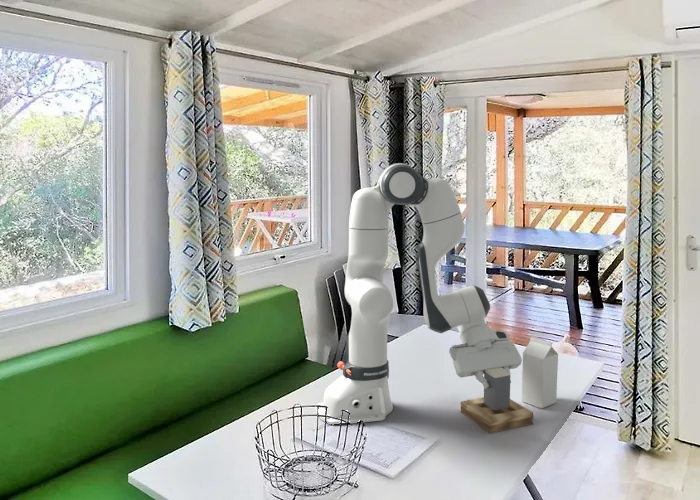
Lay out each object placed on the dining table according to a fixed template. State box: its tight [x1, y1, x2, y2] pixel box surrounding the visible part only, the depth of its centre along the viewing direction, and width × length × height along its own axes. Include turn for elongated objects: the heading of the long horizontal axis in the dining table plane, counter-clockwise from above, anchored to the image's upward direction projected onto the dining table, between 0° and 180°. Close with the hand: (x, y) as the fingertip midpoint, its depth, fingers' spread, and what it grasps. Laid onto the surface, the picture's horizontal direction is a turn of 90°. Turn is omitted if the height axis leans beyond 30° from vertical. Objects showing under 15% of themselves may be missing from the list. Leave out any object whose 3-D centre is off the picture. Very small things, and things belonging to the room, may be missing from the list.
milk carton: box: [521, 337, 559, 409], centre depth 168 cm, size 7×7×19 cm
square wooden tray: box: [460, 396, 534, 434], centre depth 159 cm, size 14×14×3 cm
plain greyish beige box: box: [483, 367, 511, 410], centre depth 158 cm, size 5×5×10 cm
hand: (498, 385), depth 157 cm, fingers closed on plain greyish beige box, 5 cm apart
